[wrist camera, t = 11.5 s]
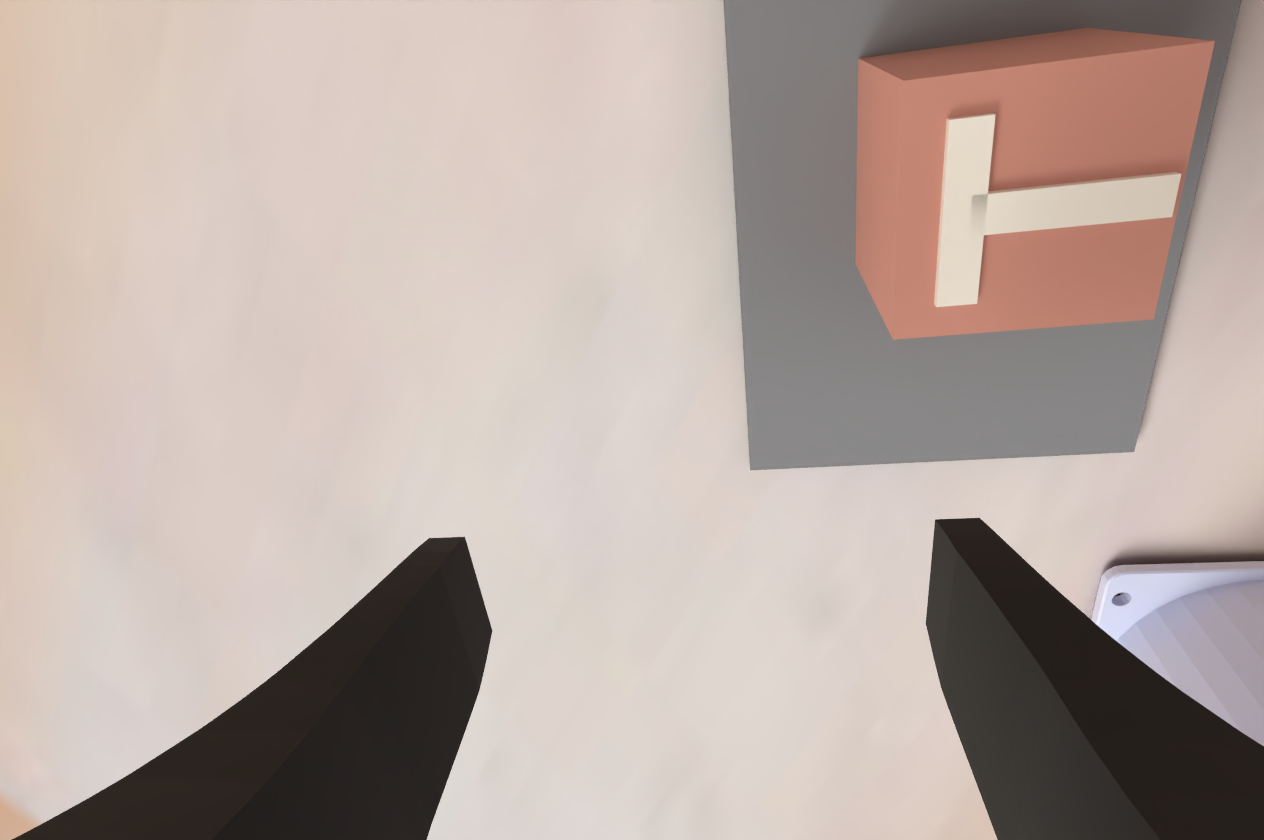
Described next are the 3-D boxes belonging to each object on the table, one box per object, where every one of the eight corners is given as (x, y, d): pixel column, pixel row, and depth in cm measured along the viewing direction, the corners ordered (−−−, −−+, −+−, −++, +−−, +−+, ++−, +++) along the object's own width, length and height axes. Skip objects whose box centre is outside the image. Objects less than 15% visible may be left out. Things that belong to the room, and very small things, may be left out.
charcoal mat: (1126, 443, 20) (1134, 451, 20) (749, 462, 22) (750, 470, 21) (1317, -383, 12) (1334, -394, 12) (709, -266, 14) (708, -273, 13)
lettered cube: (1056, 245, 17) (1158, 323, 13) (855, 264, 18) (894, 342, 14) (1087, 27, 15) (1221, 41, 11) (858, 58, 16) (905, 81, 12)
